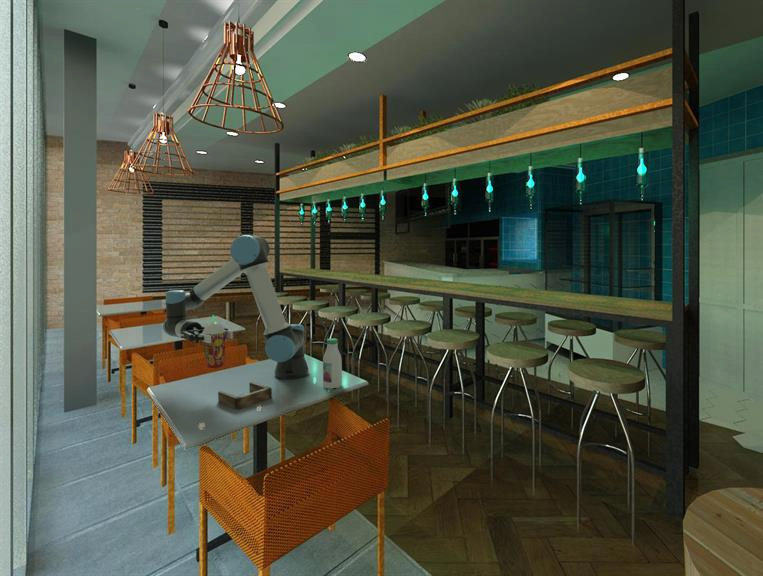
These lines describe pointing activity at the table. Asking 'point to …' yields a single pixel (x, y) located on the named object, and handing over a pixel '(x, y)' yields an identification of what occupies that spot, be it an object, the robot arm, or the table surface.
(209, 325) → the smoothie
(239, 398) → the holder
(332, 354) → the milk bottle
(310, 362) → the table surface
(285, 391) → the table surface
